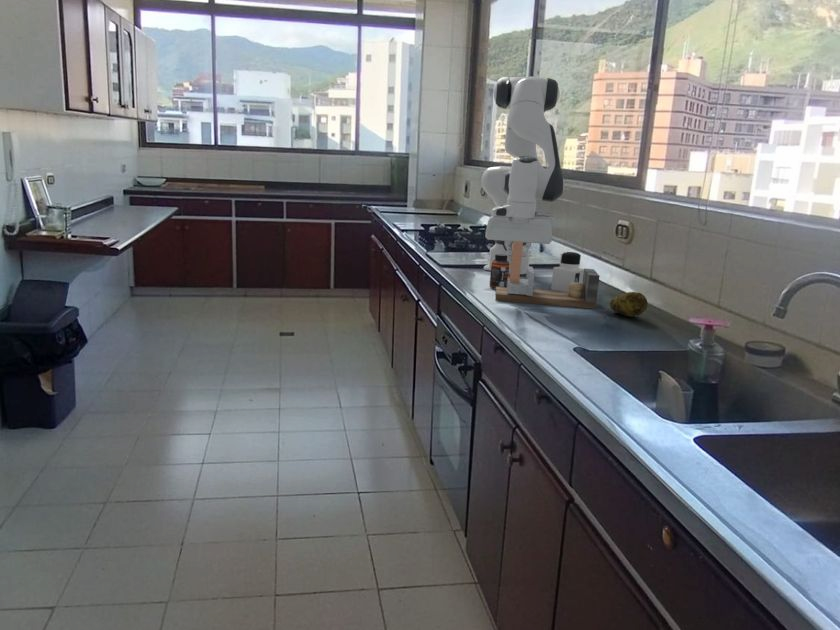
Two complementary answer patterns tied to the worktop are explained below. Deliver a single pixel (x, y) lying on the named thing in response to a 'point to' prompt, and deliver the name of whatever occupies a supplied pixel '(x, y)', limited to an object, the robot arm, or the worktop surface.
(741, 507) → the worktop surface
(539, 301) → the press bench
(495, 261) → the supplement bottle
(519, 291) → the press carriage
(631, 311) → the potato
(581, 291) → the beige rounded cylinder
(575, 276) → the container
